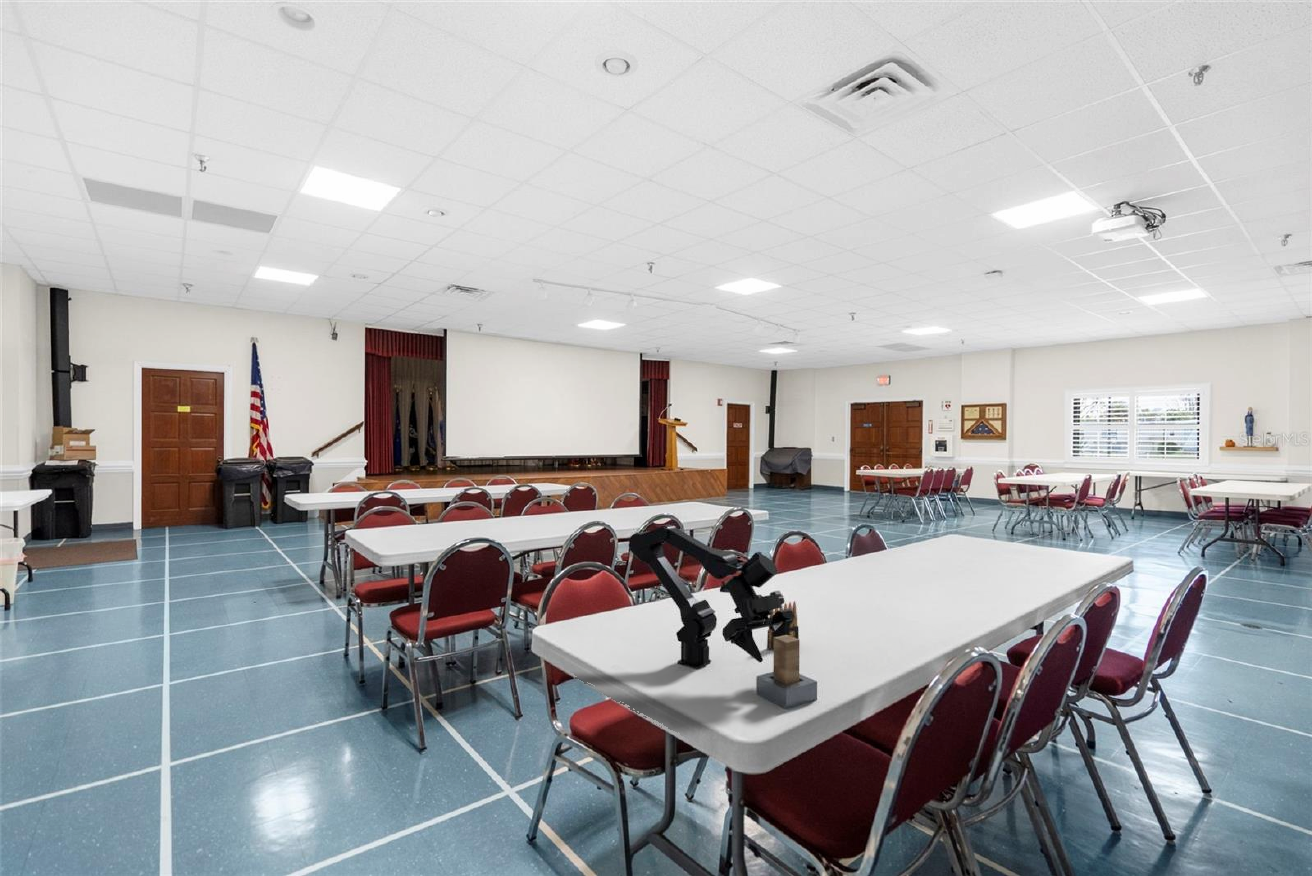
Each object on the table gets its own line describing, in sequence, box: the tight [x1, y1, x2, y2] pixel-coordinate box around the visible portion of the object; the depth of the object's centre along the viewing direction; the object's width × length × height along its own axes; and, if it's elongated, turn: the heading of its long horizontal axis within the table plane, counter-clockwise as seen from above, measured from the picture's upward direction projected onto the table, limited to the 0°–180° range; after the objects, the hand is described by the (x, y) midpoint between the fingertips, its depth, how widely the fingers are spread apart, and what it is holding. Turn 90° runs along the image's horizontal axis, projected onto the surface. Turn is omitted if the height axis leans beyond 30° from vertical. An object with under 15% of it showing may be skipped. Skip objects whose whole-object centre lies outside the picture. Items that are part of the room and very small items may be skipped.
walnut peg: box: [772, 635, 800, 685], centre depth 138 cm, size 4×4×13 cm
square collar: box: [755, 671, 818, 710], centre depth 138 cm, size 9×9×4 cm
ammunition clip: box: [766, 601, 800, 651], centre depth 173 cm, size 11×2×12 cm, turn 124°
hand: (776, 658), depth 140 cm, fingers open, 9 cm apart
